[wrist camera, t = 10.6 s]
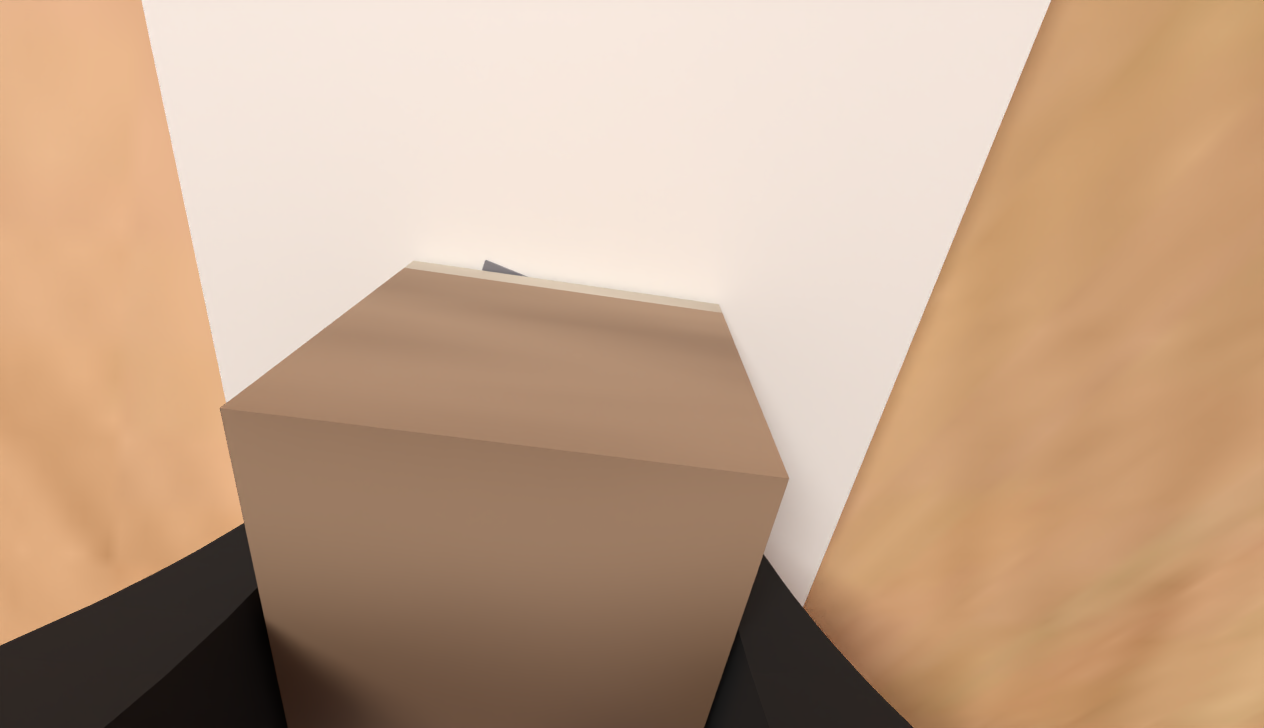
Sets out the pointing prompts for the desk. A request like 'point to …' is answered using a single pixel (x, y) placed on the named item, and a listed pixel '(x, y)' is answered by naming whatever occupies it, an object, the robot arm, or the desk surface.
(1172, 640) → the desk surface
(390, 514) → the block
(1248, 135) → the desk surface
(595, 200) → the plank
